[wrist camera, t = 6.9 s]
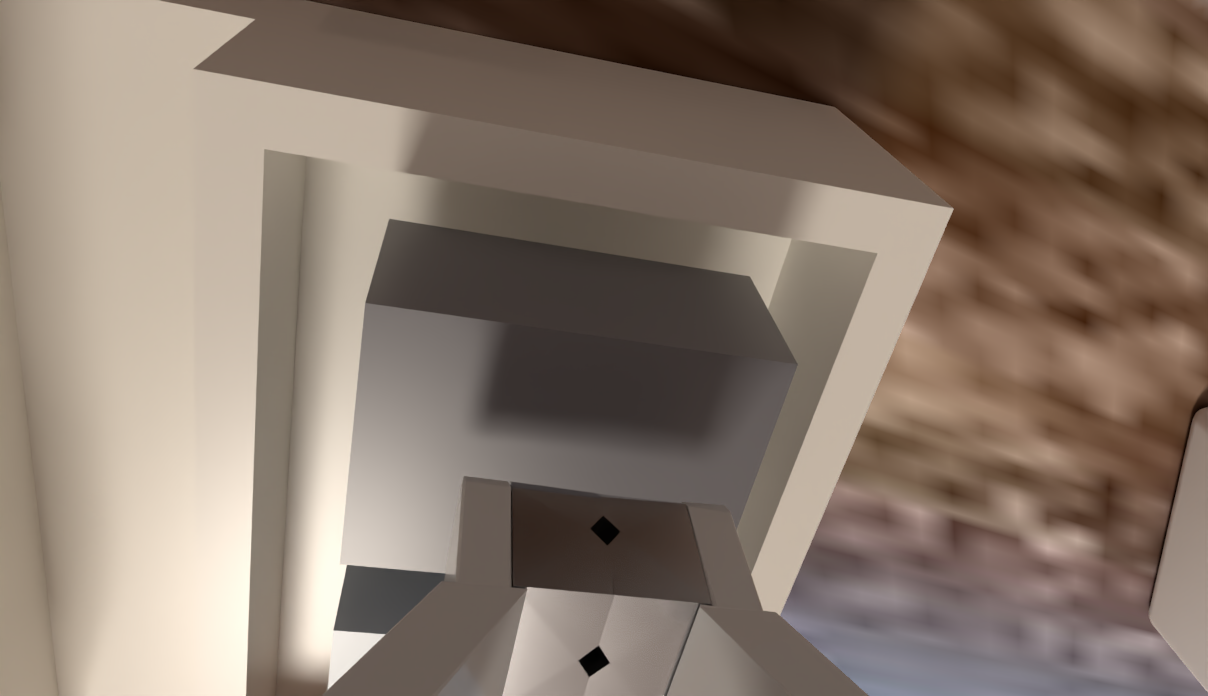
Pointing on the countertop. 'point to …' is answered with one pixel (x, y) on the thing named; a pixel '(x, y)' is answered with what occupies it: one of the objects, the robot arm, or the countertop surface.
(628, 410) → the charcoal key
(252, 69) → the cream open box
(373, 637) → the slate key
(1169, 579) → the medicine bottle
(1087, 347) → the countertop surface
